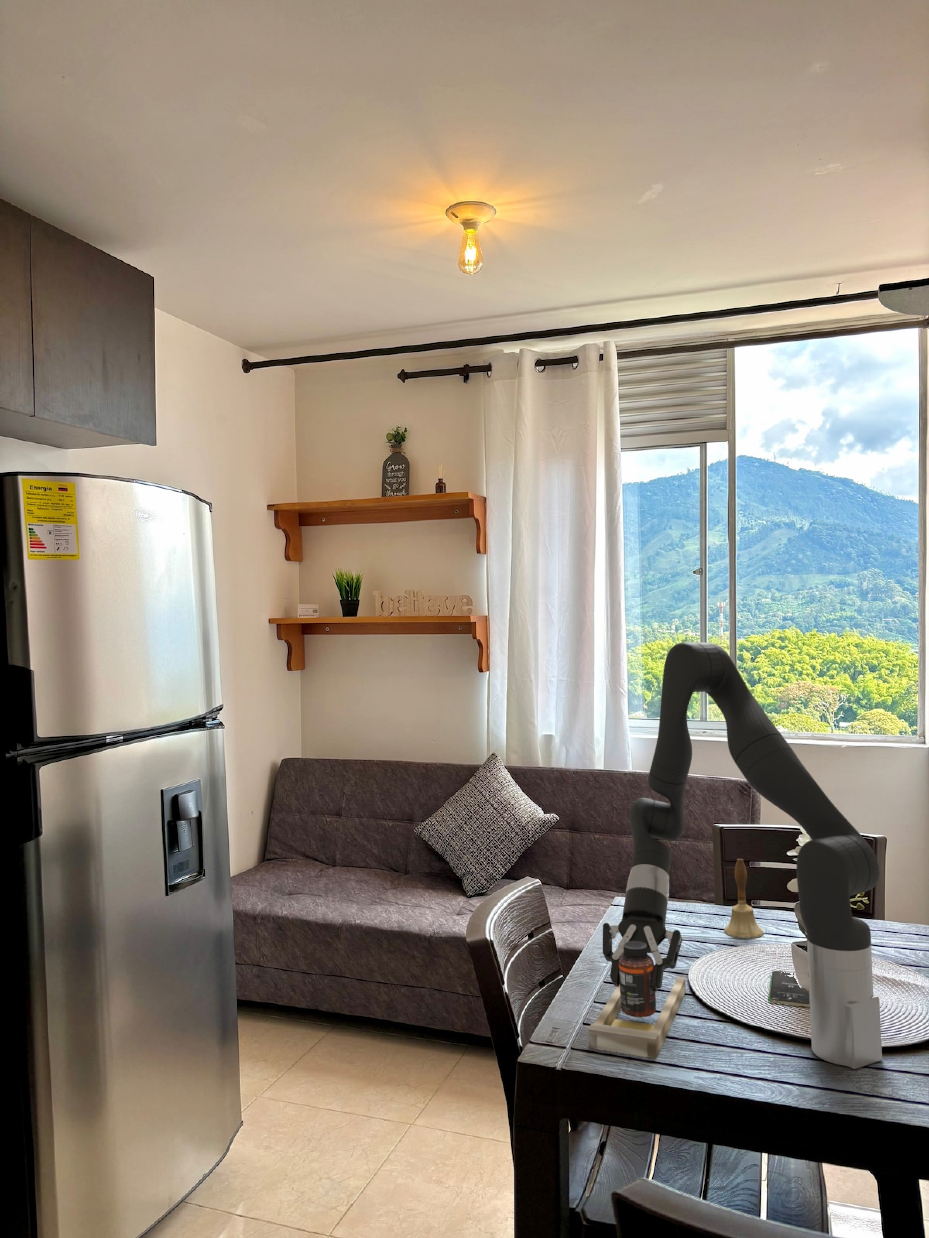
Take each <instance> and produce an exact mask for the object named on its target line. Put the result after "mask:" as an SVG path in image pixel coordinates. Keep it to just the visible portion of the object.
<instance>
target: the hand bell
mask: <svg viewBox="0 0 929 1238" xmlns="http://www.w3.org/2000/svg"><path fill="white" fill-rule="evenodd" d="M734 880H735V883H736V887H737V904H736V905H733V906H732V907H731V914H730V915H731V916H730V920H729V922H728V924H727V925H726V926H725V928H724V930H723V932H724V933H725V934H726V935H728V936H730V937H733V938H738V939H754V938H759V937H762V936H763V935H764V930H763V929H762V927H761V926H759V924H758V923H757V921H756V918H755V914H754V909H753V907H752V906H750V905H748V904H747V898H746V886H747V885H746V884H747V881H748V873H747V868H746V864H745V862H744V859H743V858H737V859H736V863H735V866H734Z"/></svg>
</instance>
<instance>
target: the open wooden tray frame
mask: <svg viewBox="0 0 929 1238" xmlns="http://www.w3.org/2000/svg"><path fill="white" fill-rule="evenodd" d="M686 985H687V984H686V977H684V976H677V978H676V980H675V982H674V983H673V986H672V988H671V990H670V992H669V994H668V997H666V1000H665V1003H664V1004H663V1007H662V1009H661V1011H660V1013H659V1015H658V1018H657V1020H656V1022H655V1024H654V1025H655V1026H654V1028H653V1030H652V1032H650V1031H643V1030H637V1029H630V1028H623V1027H616V1026H611V1024H612V1023H613V1021H614V1019H617V1017H618V1015H619V1013H620V1012H621V1011H622V1009H621V998H620V985H619V987H617V986H616V988H615V990H614V991H613V993H612V994H611V996H610V998H609V999H608V1001H607V1002H606V1003H605V1006H604V1007H603V1009H602V1011H601V1012H600V1014H599V1015H598V1017H597V1019H596V1020H595V1021H594V1022H591V1023H590V1025H589V1027H588V1029H587V1034H588V1035H587V1036H588V1037H587V1038H588V1041H587V1042H588V1049H591V1048H594V1049H593V1050H597V1049H598V1050H599V1051H604V1050H606V1051H605V1052H610V1051H611V1052H612V1053H616V1052H617V1054H625V1055H629V1054H630V1056H636V1057H641V1058H649V1059H654V1060H656V1059H658V1056H659V1054H660V1052H661V1050H662V1047H663V1044H664V1043H665V1040H666V1038H667V1035H668V1034H669V1032H670V1028H671V1026H672V1024H673V1022H674V1019H675V1018H676V1017H675V1016H676V1015H677V1013H678V1010H679V1008H680V1005H681V1003H682V1001H683V998H684V996H685V994H686V992H687V989H686V987H687V986H686ZM598 1050H597V1051H598Z"/></svg>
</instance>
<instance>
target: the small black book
mask: <svg viewBox="0 0 929 1238" xmlns="http://www.w3.org/2000/svg"><path fill="white" fill-rule="evenodd" d="M781 972H782V973H781ZM784 972H785V973H784ZM784 972H783V971H781V970H774V971H772V972H771V973H772V976H771V975H770V979H771V981H770V980H769V981H770V982H769V987H770V988H769V989H770V990H769V989H768V995H767V1001H768V1000H769V1001H770V1002H773V1003H782V1004H789V1005H788V1006H790V1005H796V1006H795V1007H799V1006H808V1007H807V1008H809V1006H810V1000H809V993H808V992H807V991H804V990H803V989H801V988H800V987H799V985H798V983H797V981H796V979H795V978H794V976H793V977H789V976H787V975H791V974H790V973H786V972H787V971H784ZM794 973H795V972H793V975H794ZM785 975H786V976H785ZM774 1000H775V1001H774ZM769 1001H768V1002H769ZM770 1002H769V1003H770ZM773 1003H772V1004H773ZM782 1004H781V1005H782Z"/></svg>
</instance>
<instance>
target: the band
mask: <svg viewBox="0 0 929 1238" xmlns="http://www.w3.org/2000/svg"><path fill="white" fill-rule="evenodd" d="M611 1026H616V1027H623V1028H630V1029H637V1030H643V1031H650V1032H652V1030H653V1028H654V1026H655V1024H651V1023H644V1022H638V1021H637V1022H636V1021H629V1020H622V1019H617V1018H615V1019H614V1021H613V1023H612V1024H611Z"/></svg>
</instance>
